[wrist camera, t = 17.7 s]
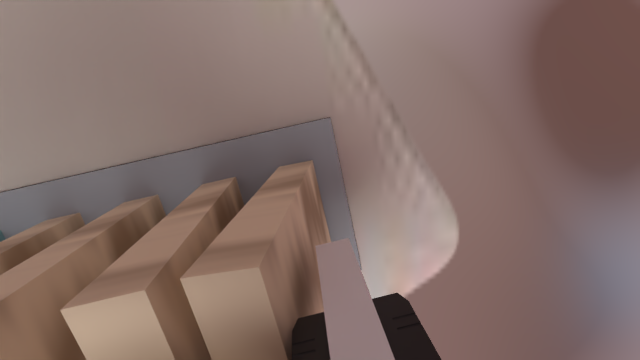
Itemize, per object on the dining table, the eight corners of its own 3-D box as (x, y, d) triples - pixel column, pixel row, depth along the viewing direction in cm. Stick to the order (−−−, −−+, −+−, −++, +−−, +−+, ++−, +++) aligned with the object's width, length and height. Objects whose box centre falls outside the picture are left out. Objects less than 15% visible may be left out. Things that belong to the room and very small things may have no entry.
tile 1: (279, 166, 21) (179, 278, 9) (312, 160, 21) (259, 267, 8) (301, 254, 23) (247, 450, 10) (332, 249, 22) (314, 446, 10)
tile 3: (124, 202, 21) (-138, 356, 8) (158, 194, 21) (-51, 336, 8) (159, 288, 23) (-10, 519, 10) (190, 280, 23) (60, 502, 10)
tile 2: (201, 184, 21) (59, 310, 8) (235, 176, 21) (144, 289, 8) (231, 271, 23) (151, 480, 10) (262, 263, 23) (220, 463, 10)
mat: (-133, 222, 20) (-141, 225, 20) (329, 117, 21) (330, 117, 20) (-39, 361, 23) (-44, 366, 23) (360, 267, 24) (361, 270, 24)
